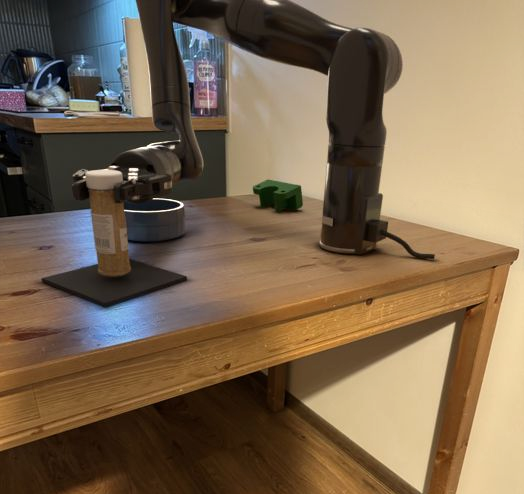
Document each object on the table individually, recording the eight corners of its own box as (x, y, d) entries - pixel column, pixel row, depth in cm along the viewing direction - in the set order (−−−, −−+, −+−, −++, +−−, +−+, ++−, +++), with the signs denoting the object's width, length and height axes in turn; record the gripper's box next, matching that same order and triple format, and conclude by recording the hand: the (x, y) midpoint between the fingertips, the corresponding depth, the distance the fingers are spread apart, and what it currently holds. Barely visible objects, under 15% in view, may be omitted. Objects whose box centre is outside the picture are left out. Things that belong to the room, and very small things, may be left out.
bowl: (199, 234, 95) (198, 205, 93) (146, 247, 86) (143, 215, 83) (152, 223, 102) (150, 195, 100) (98, 234, 93) (95, 204, 90)
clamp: (261, 224, 123) (246, 189, 121) (278, 215, 126) (263, 181, 124) (291, 213, 114) (275, 175, 111) (308, 204, 117) (293, 167, 114)
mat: (187, 280, 71) (187, 276, 71) (105, 307, 61) (105, 303, 61) (124, 260, 79) (123, 257, 78) (42, 282, 68) (41, 278, 68)
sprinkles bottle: (137, 272, 70) (129, 171, 64) (110, 280, 67) (98, 175, 60) (118, 265, 72) (108, 167, 66) (90, 272, 69) (77, 170, 63)
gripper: (96, 146, 76) (37, 158, 61) (187, 150, 74) (150, 164, 59) (102, 196, 79) (47, 220, 64) (189, 201, 78) (154, 227, 63)
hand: (97, 193), depth 62 cm, fingers closed on sprinkles bottle, 4 cm apart
